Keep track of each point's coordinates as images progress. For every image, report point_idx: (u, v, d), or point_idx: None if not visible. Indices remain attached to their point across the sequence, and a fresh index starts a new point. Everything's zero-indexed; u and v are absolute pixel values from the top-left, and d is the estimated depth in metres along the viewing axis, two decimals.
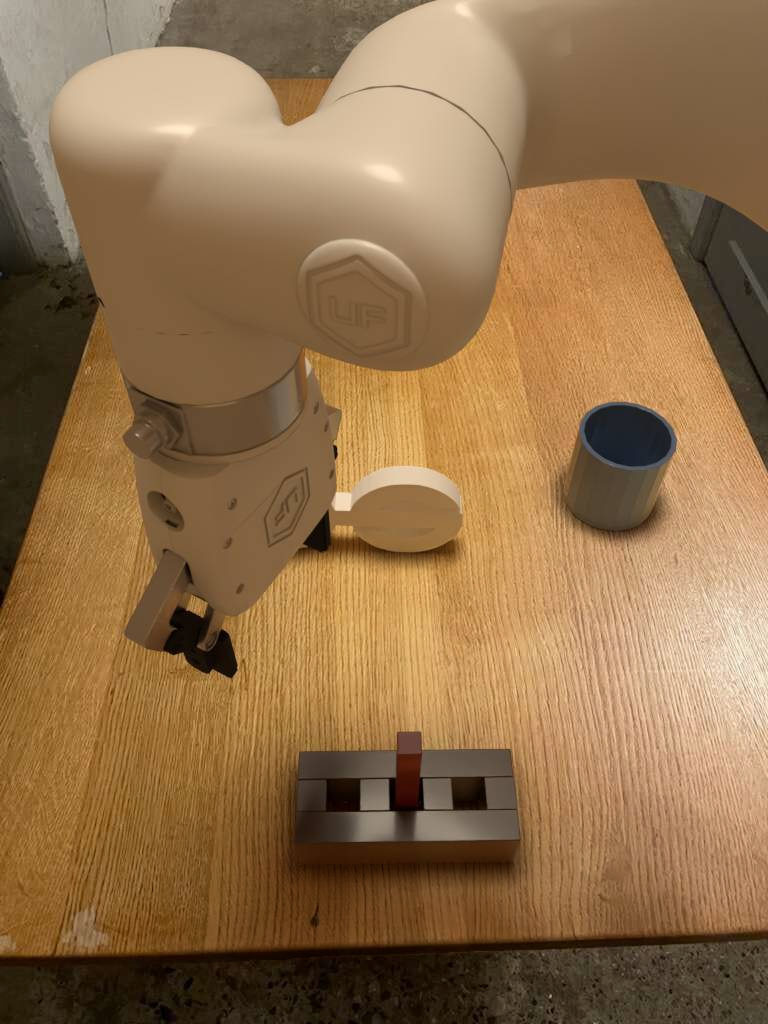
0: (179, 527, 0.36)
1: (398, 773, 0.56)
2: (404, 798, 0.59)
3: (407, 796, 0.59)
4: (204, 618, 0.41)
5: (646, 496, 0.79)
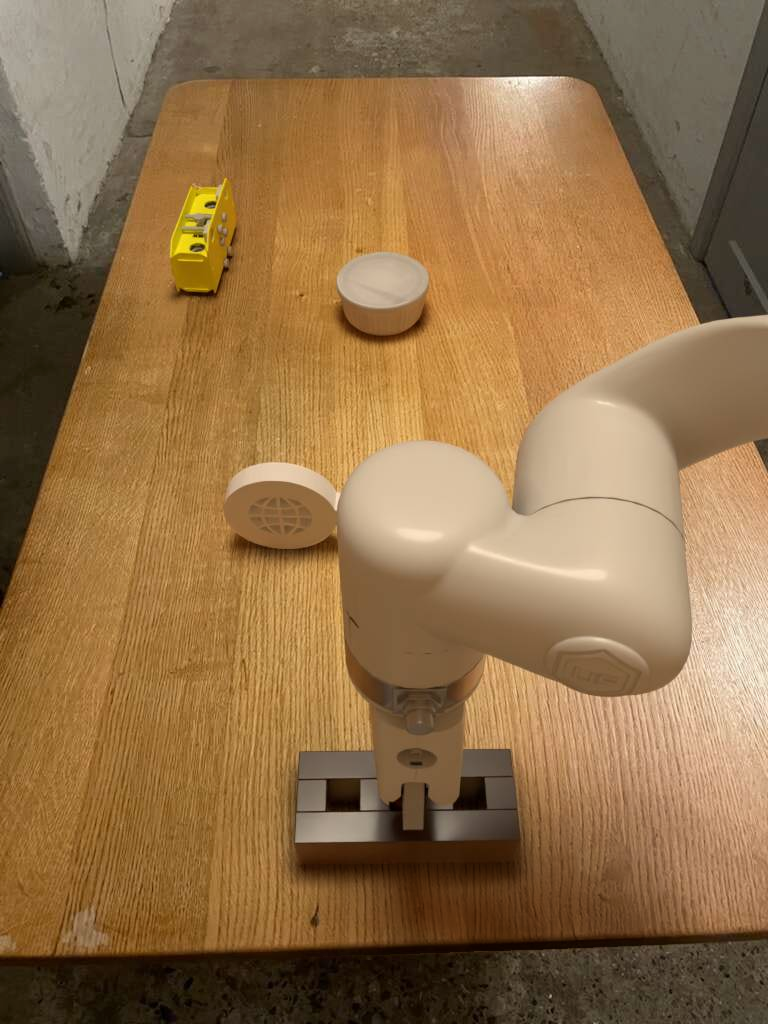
0: (425, 763, 0.45)
1: None
2: None
3: None
4: None
5: None
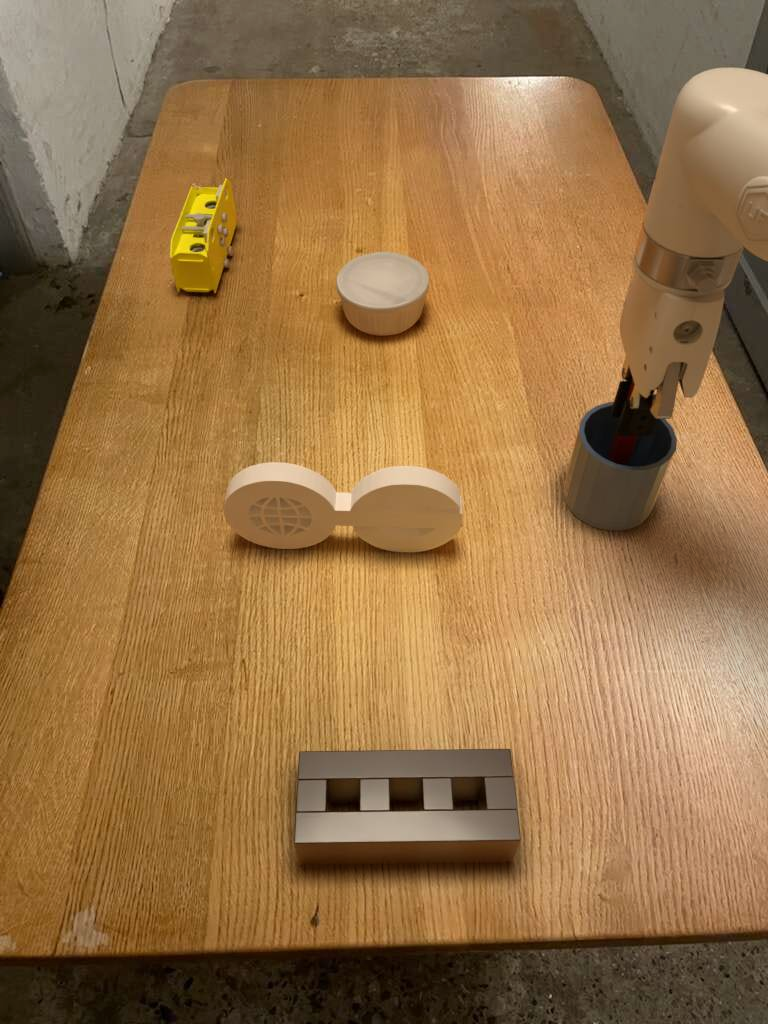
0: (690, 341, 0.64)
1: None
2: (624, 446, 0.79)
3: (627, 442, 0.78)
4: None
5: (646, 496, 0.79)
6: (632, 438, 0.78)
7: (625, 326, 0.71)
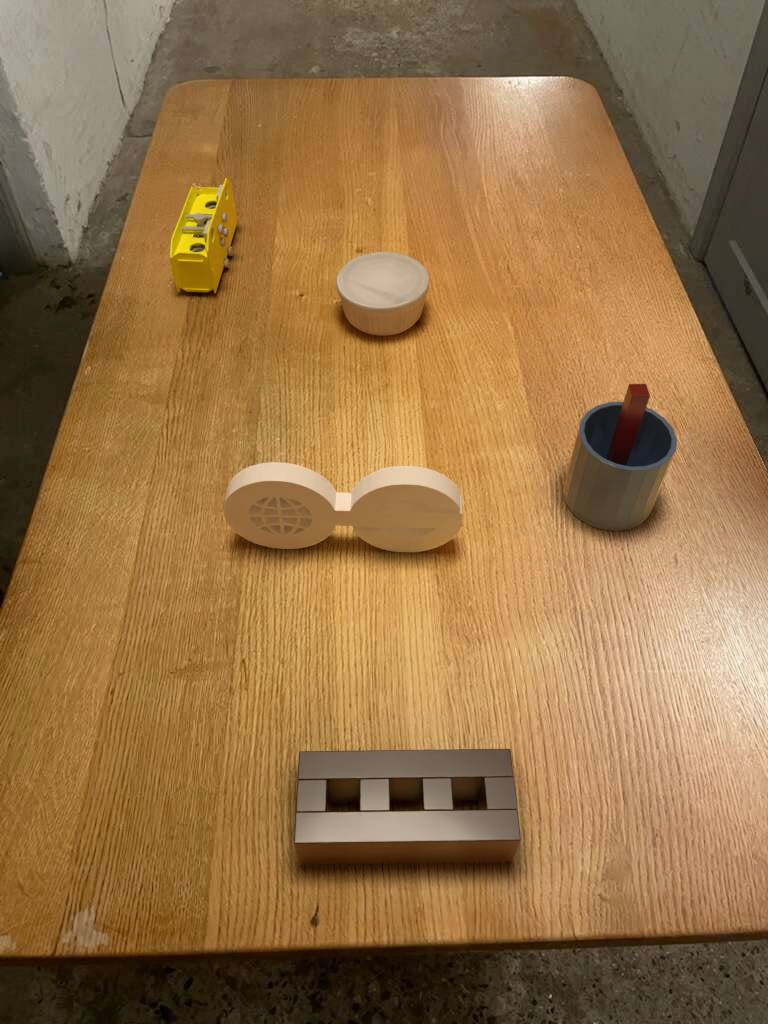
0: None
1: (625, 421, 0.76)
2: (620, 455, 0.80)
3: (623, 451, 0.79)
4: None
5: (646, 496, 0.79)
6: (627, 447, 0.79)
7: None
